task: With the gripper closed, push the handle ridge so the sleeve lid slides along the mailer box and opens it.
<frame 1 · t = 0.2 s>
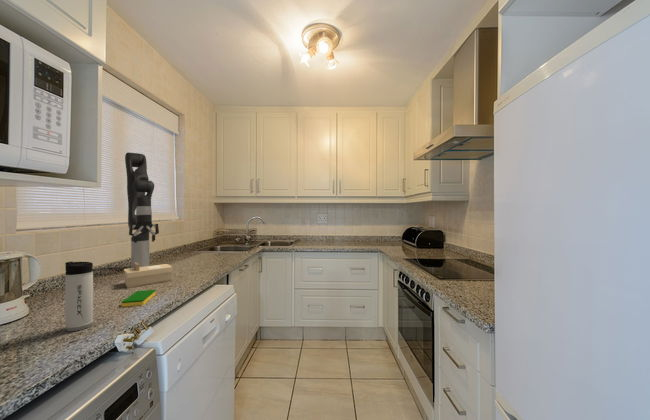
hand: (144, 242, 155), 17 cm above the worktop, tool pointing down, fingers open, 8 cm apart
travel mug: (79, 327, 82), on the worktop
mailer box: (148, 282, 133), on the worktop
dish sponge: (139, 301, 106), on the worktop
lid: (148, 267, 133), point 7 cm above the worktop, slide at 0.0 cm
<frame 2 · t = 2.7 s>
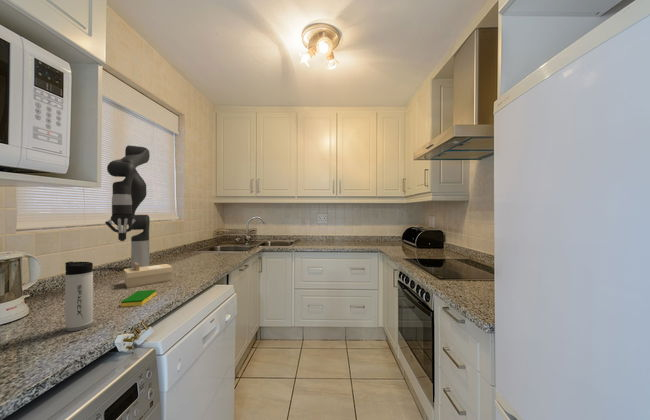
hand: (122, 240, 126), 21 cm above the worktop, tool pointing down, fingers closed
nothing on the worktop moved.
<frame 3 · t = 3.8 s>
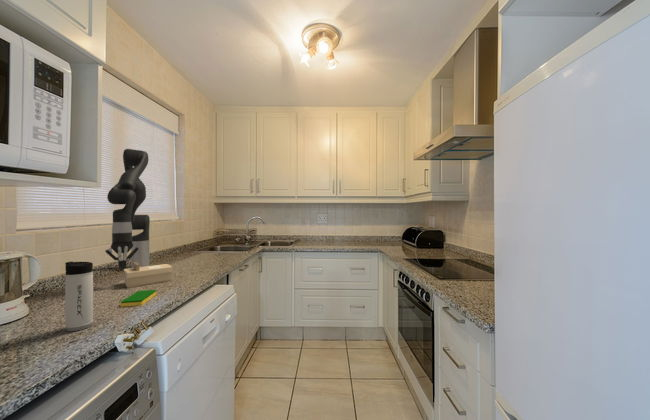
hand: (122, 268, 126), 8 cm above the worktop, tool pointing down, fingers closed
nothing on the worktop moved.
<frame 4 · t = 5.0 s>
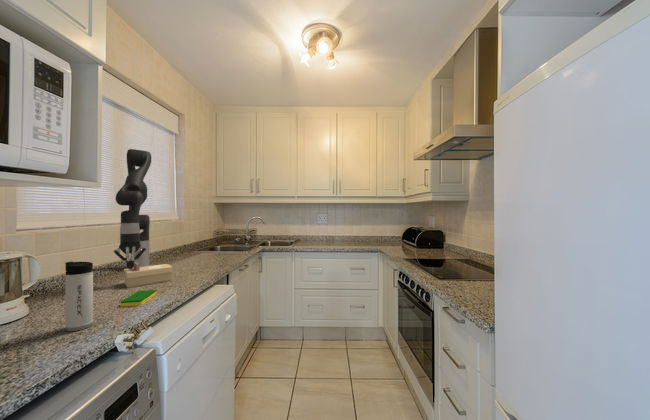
hand: (130, 268, 128), 8 cm above the worktop, tool pointing down, fingers closed
lid: (148, 267, 133), point 7 cm above the worktop, slide at 0.1 cm, touching gripper
everything else where it was.
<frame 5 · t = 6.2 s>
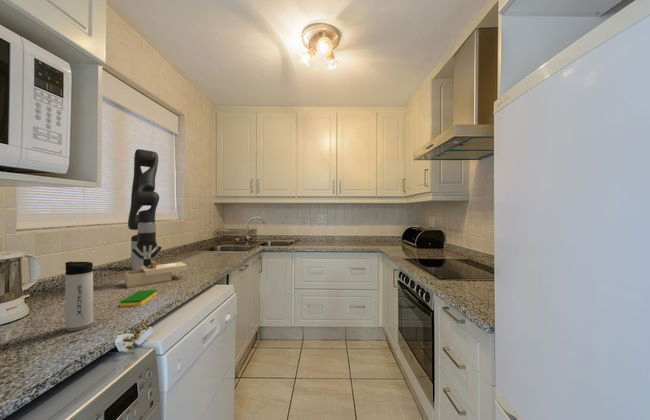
hand: (146, 266, 133), 8 cm above the worktop, tool pointing down, fingers closed
lid: (164, 265, 138), point 7 cm above the worktop, slide at 6.9 cm, touching gripper
everything else where it was.
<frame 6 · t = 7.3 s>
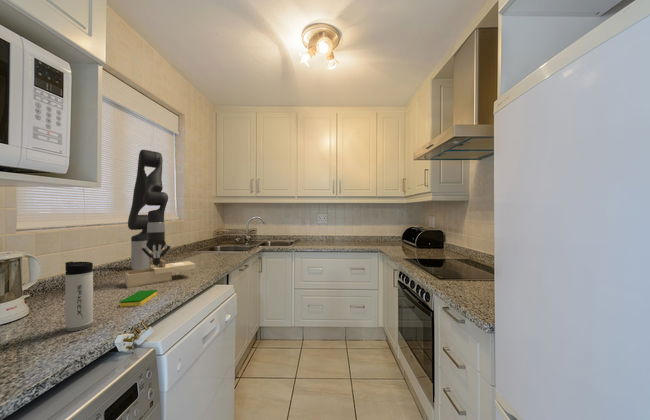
hand: (156, 265, 135), 8 cm above the worktop, tool pointing down, fingers closed
lid: (172, 264, 140), point 7 cm above the worktop, slide at 10.8 cm, touching gripper
everything else where it was.
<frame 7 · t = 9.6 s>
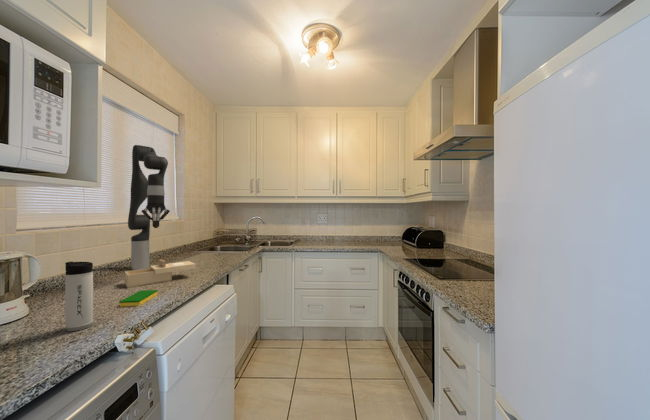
hand: (155, 227, 139), 27 cm above the worktop, tool pointing down, fingers closed
lid: (173, 264, 140), point 7 cm above the worktop, slide at 11.0 cm
everything else where it was.
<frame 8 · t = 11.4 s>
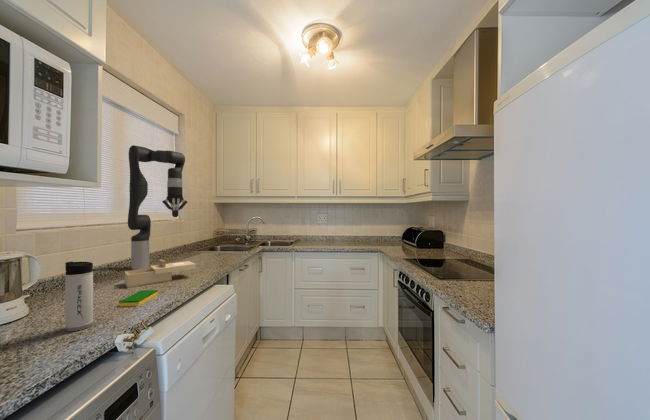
hand: (175, 217, 152), 32 cm above the worktop, tool pointing down, fingers closed
nothing on the worktop moved.
at the end: lid slide at 11.0 cm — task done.
